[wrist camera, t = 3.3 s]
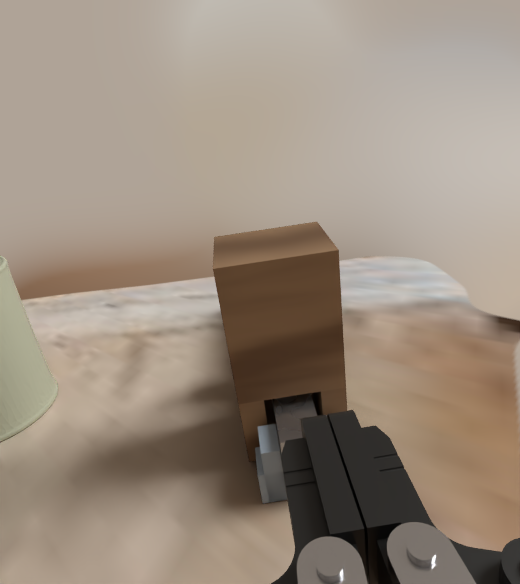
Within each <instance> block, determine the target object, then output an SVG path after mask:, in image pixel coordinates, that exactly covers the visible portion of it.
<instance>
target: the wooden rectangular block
mask: <svg viewBox="0 0 520 584" xmlns="http://www.w3.org/2000/svg"><path fill="white" fill-rule="evenodd" d="M213 271H214V277H215V282H216V287H217V293H218V298H219V303H220V309H221V314H222V319H223V325H224V330H225V335H226V341H227V346H228V351H229V357H230V362H231V367H232V372H233V378H234V383H235V388H236V394H237V399H238V404H239V410H240V415H241V420H242V426H243V431H244V436H245V442H246V447H247V452H248V458H249V462H251V461H256V454H255V448H256V447H260V443H259V434H258V426H264V425H270V424H276V421H275V416H274V410H273V404H272V399H276V398H283V397H289V396H295V395H301V394H308V393H310V394H311V397H312V400H313V403H314V407H315V410H316V413H317V416H319V415H327V414H330V413H336V412H343V411H347V399H346V380H345V361H344V343H343V324H342V306H341V287H340V269H339V250H338V249H337V247H336V246H335V245H334V243H333V242H332V241H331V239H329V237H328V236H327V234H326V233H325V232H324V230H323V229H322V228H321V226H320V225H319V224H318V223H317V222H312V223H305V224H298V225H292V226H285V227H279V228H272V229H265V230H259V231H251V232H245V233H239V234H232V235H225V236H218V237H214V257H213ZM276 430H277V427H276ZM277 436H278V433H277ZM278 441H279V439H278Z"/></svg>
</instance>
